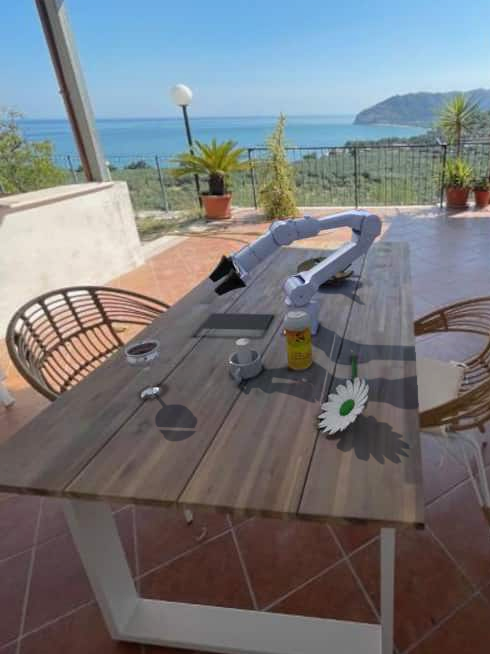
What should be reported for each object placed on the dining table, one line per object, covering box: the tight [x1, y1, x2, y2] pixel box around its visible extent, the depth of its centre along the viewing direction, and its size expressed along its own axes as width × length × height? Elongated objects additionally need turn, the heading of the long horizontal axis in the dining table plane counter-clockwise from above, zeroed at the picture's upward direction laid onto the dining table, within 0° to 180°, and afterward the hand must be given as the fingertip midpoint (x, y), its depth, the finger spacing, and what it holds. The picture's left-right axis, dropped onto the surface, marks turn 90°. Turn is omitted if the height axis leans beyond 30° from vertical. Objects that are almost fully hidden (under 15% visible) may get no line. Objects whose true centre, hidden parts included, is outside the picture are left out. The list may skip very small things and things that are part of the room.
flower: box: [317, 355, 370, 436], centre depth 88 cm, size 13×6×30 cm
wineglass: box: [124, 339, 162, 399], centre depth 87 cm, size 7×7×12 cm
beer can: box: [283, 308, 313, 371], centre depth 97 cm, size 6×6×15 cm
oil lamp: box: [296, 256, 355, 286], centre depth 151 cm, size 22×30×8 cm
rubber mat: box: [192, 313, 274, 338], centre depth 119 cm, size 20×14×1 cm
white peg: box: [235, 337, 252, 364], centre depth 95 cm, size 3×3×8 cm
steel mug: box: [228, 348, 263, 386], centre depth 95 cm, size 10×7×4 cm
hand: (214, 286), depth 102 cm, fingers open, 7 cm apart
